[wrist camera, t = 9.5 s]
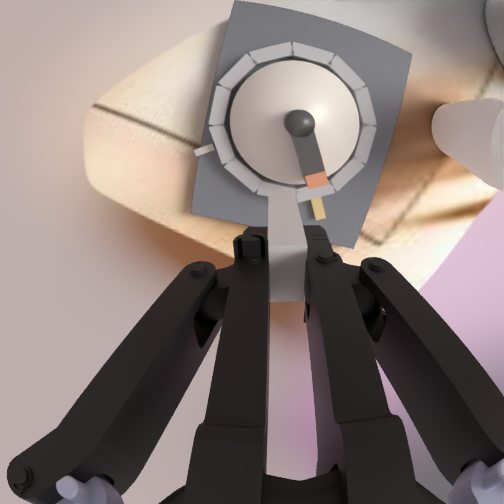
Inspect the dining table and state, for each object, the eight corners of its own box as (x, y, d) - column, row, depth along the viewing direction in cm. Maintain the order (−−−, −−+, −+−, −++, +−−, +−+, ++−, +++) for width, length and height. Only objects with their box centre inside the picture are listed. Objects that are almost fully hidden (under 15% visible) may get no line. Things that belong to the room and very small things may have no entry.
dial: (215, 84, 24) (205, 79, 19) (333, 53, 21) (347, 42, 17) (255, 193, 29) (253, 210, 25) (364, 163, 27) (382, 174, 22)
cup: (433, 80, 23) (502, 80, 12) (482, 116, 23) (547, 133, 13) (413, 146, 27) (477, 172, 16) (462, 175, 28) (523, 210, 17)
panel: (230, 4, 20) (227, -6, 18) (405, 55, 22) (417, 52, 19) (189, 207, 32) (182, 217, 29) (350, 243, 33) (356, 254, 31)
